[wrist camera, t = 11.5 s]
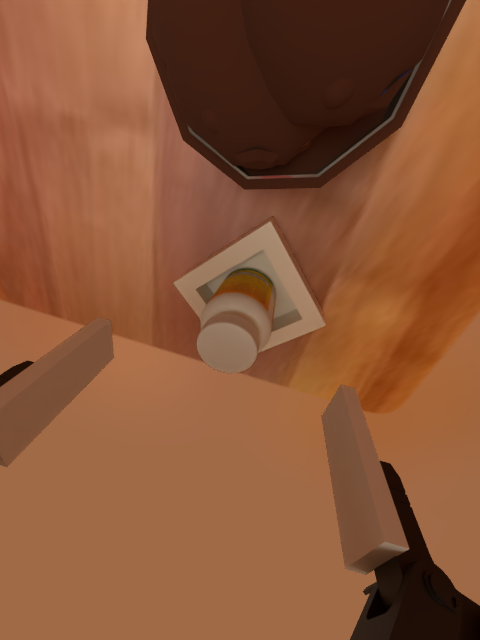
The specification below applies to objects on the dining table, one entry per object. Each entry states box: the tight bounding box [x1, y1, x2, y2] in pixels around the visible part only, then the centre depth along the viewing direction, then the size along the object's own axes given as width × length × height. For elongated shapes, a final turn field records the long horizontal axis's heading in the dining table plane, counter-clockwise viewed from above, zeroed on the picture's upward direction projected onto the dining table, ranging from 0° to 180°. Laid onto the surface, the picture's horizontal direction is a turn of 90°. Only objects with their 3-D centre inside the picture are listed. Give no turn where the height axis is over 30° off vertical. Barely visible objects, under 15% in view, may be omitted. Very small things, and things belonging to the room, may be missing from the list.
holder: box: [173, 216, 326, 353], centre depth 23 cm, size 10×10×3 cm
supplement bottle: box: [197, 267, 276, 373], centre depth 19 cm, size 5×5×10 cm
